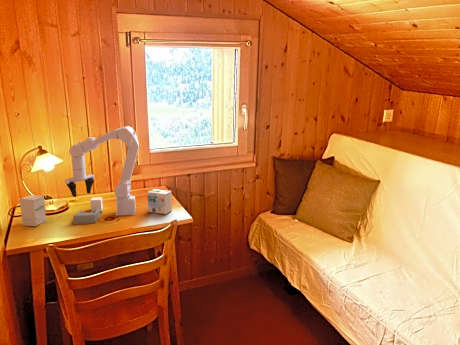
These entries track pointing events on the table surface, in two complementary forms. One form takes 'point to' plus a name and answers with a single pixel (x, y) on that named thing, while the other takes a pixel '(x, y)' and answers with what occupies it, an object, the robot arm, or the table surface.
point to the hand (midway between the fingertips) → (81, 195)
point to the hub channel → (86, 217)
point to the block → (96, 204)
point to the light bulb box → (159, 201)
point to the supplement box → (33, 210)
